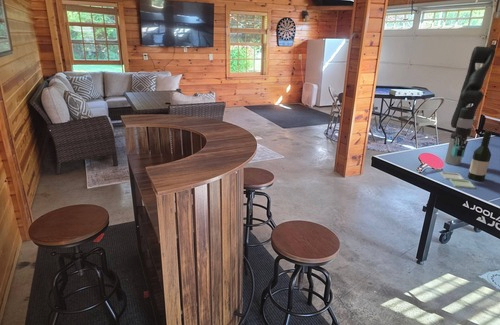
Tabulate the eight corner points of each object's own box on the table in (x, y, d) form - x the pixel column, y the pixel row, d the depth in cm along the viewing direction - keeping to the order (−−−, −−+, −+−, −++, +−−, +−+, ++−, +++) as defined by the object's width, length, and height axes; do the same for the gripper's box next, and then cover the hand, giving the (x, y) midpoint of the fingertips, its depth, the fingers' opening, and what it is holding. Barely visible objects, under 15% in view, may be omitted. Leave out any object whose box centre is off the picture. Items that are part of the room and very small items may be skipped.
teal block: (451, 153, 195) (452, 145, 193) (460, 154, 193) (462, 146, 192) (453, 156, 190) (455, 148, 188) (463, 157, 189) (465, 149, 187)
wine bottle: (477, 176, 198) (490, 128, 188) (487, 182, 191) (501, 132, 180) (464, 176, 198) (476, 128, 188) (473, 182, 190) (486, 132, 180)
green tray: (449, 180, 192) (449, 178, 191) (468, 182, 189) (469, 180, 189) (454, 187, 182) (455, 185, 182) (474, 189, 180) (475, 187, 180)
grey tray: (440, 173, 202) (440, 171, 202) (458, 175, 200) (458, 173, 199) (445, 179, 193) (445, 177, 193) (463, 181, 191) (464, 179, 190)
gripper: (452, 123, 193) (446, 150, 199) (461, 128, 180) (454, 157, 186) (467, 124, 192) (460, 151, 197) (476, 129, 178) (469, 159, 184)
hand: (457, 154), depth 191 cm, fingers closed on teal block, 5 cm apart
